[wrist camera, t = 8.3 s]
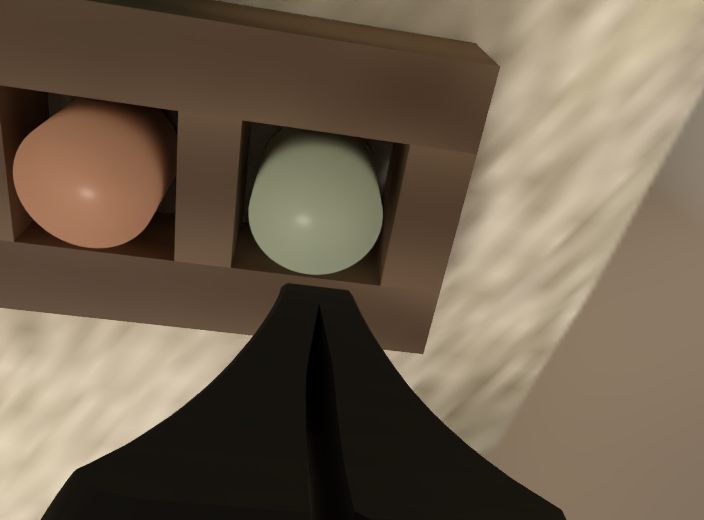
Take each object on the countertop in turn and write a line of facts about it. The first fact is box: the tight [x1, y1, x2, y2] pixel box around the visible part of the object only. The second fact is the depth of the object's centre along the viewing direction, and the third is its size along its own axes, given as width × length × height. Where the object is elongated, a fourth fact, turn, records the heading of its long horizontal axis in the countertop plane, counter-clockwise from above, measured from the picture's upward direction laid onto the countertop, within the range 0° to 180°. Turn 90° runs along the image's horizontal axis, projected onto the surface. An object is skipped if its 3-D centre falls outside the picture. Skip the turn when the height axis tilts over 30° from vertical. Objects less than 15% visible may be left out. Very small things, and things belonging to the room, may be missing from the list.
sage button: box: [249, 127, 383, 275], centre depth 18 cm, size 4×4×3 cm
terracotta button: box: [13, 97, 178, 248], centre depth 18 cm, size 4×4×3 cm
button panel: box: [0, 0, 500, 354], centre depth 18 cm, size 9×20×3 cm, turn 81°
